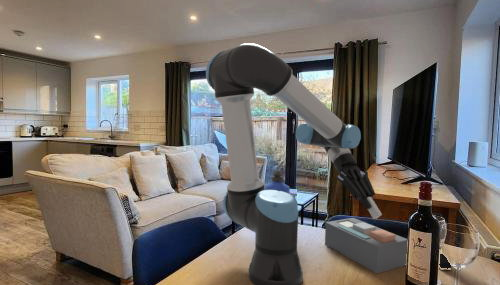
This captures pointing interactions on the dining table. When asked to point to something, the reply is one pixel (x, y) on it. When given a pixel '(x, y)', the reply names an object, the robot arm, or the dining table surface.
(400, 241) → the grey boxy piece
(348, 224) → the ivory key
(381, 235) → the terracotta key
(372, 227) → the grey key
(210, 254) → the dining table surface
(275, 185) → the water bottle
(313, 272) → the dining table surface
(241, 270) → the dining table surface
